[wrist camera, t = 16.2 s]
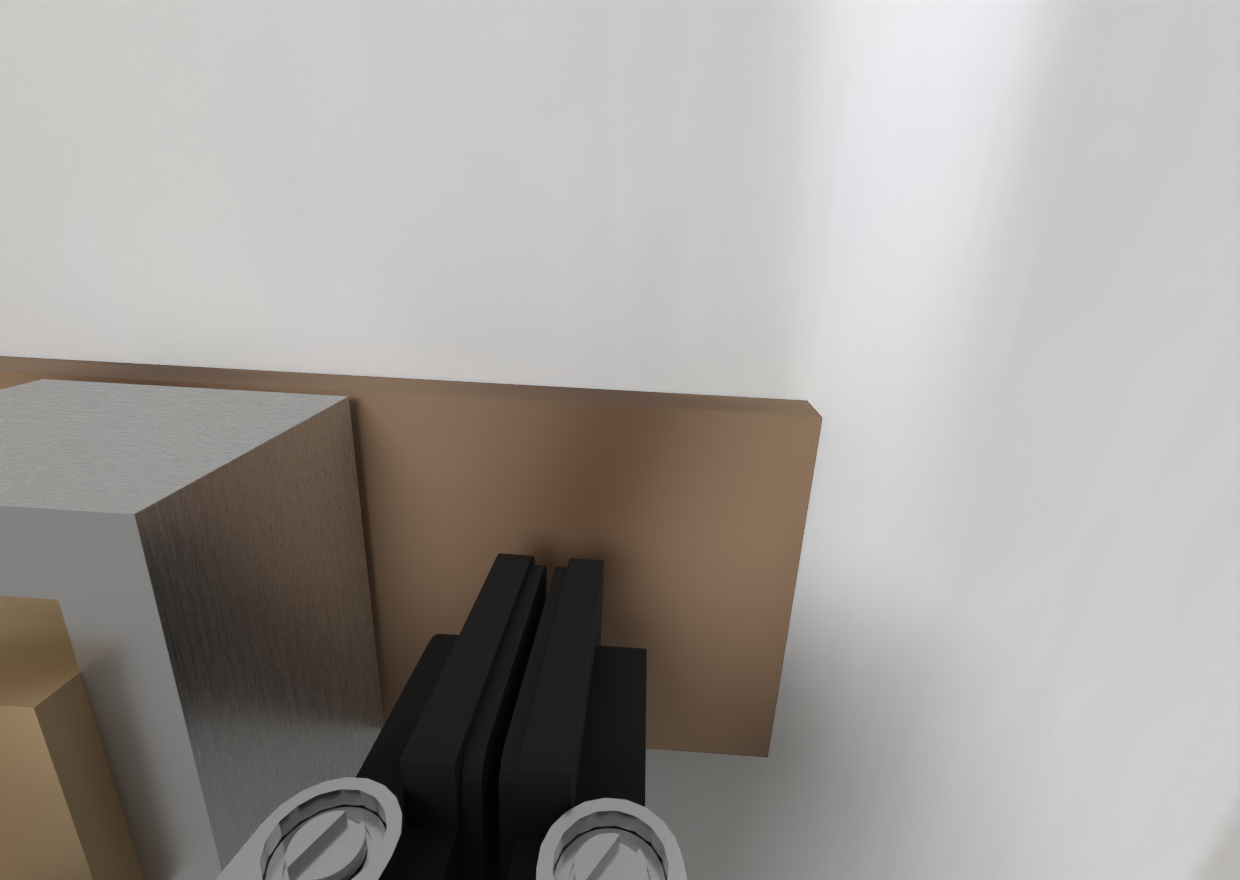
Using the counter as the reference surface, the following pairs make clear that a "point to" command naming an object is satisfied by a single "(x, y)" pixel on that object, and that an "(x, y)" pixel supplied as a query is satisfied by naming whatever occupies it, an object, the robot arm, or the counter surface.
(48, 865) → the slat
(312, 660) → the bracket
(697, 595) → the base board
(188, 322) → the counter surface
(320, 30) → the counter surface
